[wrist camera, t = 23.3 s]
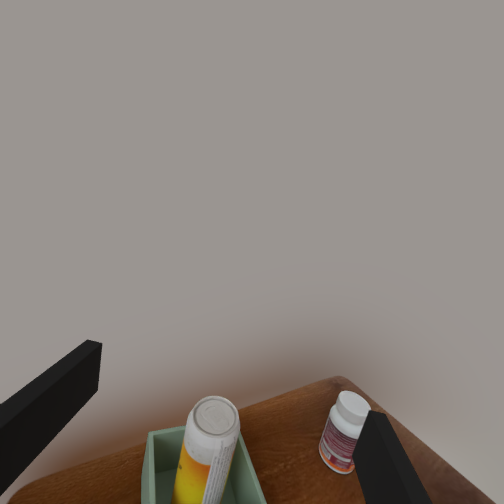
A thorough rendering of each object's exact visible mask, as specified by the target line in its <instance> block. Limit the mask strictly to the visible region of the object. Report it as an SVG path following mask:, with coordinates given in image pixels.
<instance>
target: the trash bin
mask: <svg viewBox="0 0 504 504" xmlns="http://www.w3.org/2000/svg"><path fill="white" fill-rule="evenodd" d="M185 429H186V425H185V426H179V427H174V428H168V429H163V430H157V431H151V432H148V438H147V444H146V450H145V457H144V463H143V469H142V476H141V504H171V499H172V494H173V489H174V484H175V479H176V474H177V469H178V464H179V459H180V454H181V449H182V444H183V439H184V434H185ZM221 504H267V503H266V500H265V498H264V495H263V492H262V490H261V487H260V484H259V481H258V479H257V476H256V473H255V471H254V468H253V465H252V462H251V460H250V457H249V454H248V452H247V449H246V446H245V443H244V441H243V438H242V435H241V432H240V431H239V435H238V439H237V443H236V447H235V451H234V455H233V458H232V462H231V466H230V470H229V474H228V478H227V482H226V486H225V489H224V493H223V497H222V501H221Z"/></svg>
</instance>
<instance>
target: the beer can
mask: <svg viewBox="0 0 504 504" xmlns="http://www.w3.org/2000/svg"><path fill="white" fill-rule="evenodd" d="M239 431H240V421H239V415H238V411H237V409H236V407H235V406H234V404H233V403H232V402H230V401H229V400H228V399H225V398H223V397H220V396H208V397H205V398H203V399H201V400H200V401H198V403H196V405H195V407H194V408H193V409H192V411H191V412H190V413H189V416H188V419H187V424H186V429H185V434H184V439H183V444H182V449H181V454H180V459H179V464H178V469H177V474H176V479H175V484H174V489H173V494H172V499H171V504H221V501H222V497H223V493H224V489H225V486H226V482H227V478H228V474H229V470H230V466H231V462H232V458H233V455H234V451H235V447H236V443H237V439H238V435H239Z"/></svg>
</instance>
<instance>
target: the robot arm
mask: <svg viewBox="0 0 504 504" xmlns="http://www.w3.org/2000/svg"><path fill="white" fill-rule="evenodd" d="M101 352H102V343H99V342H95V341H91V340H86V341H85V342H83V343H82V344H81V345H79V346H78V347H77V348H75V349H74V350H73V351H71V352H70V353H69V354H67V355H66V356H65V357H63V358H62V359H61V360H59V361H58V362H57V363H55V364H54V365H53V366H51V367H50V368H49V369H47V370H46V371H45V372H43V373H42V374H41V375H39V376H38V377H37V378H35V379H34V380H33V381H31V382H30V383H29V384H27V385H26V386H25V387H23V388H22V389H21V390H19V391H18V392H17V393H15V394H14V395H13V396H11V397H10V398H9V399H7V400H6V401H5V402H3V403H2V404H0V496H1V495H2V494H3V493H4V492H5V491H6V490H7V488H8V487H9V486H10V485H11V484H12V483H13V482H14V481H15V480H16V479H17V478H18V476H19V475H20V474H21V473H22V472H23V471H24V470H25V469H26V468H27V467H28V466H29V465H30V463H31V462H32V461H33V460H34V459H35V458H36V457H37V456H38V455H39V454H40V453H41V452H42V450H43V449H44V448H45V447H46V446H47V445H48V444H49V443H50V442H51V441H52V440H53V438H54V437H55V436H56V435H57V434H58V433H59V432H60V431H61V430H62V429H63V428H64V427H65V425H66V424H67V423H68V422H69V421H70V420H71V419H72V418H73V417H74V416H75V415H76V413H77V412H78V411H79V410H80V409H81V408H82V407H83V406H84V405H85V404H86V403H87V402H88V400H89V399H90V398H91V397H92V396H93V395H94V394H95V393H96V392H97V391H98V381H99V372H100V361H101ZM352 459H353V462H354V465H355V469H356V472H357V475H358V478H359V482H360V485H361V488H362V491H363V495H364V498H365V501H366V504H432V502H431V500H430V498H429V496H428V494H427V492H426V490H425V488H424V487H423V485H422V483H421V481H420V479H419V477H418V475H417V473H416V471H415V469H414V468H413V466H412V464H411V462H410V460H409V458H408V456H407V454H406V452H405V450H404V449H403V447H402V445H401V443H400V441H399V439H398V437H397V435H396V433H395V431H394V430H393V428H392V426H391V424H390V422H389V420H388V418H387V416H386V414H383V413H379V412H375V411H371V410H369V411H368V414H367V417H366V419H365V422H364V425H363V427H362V430H361V432H360V435H359V438H358V440H357V443H356V445H355V448H354V451H353V453H352Z"/></svg>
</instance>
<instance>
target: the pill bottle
mask: <svg viewBox="0 0 504 504" xmlns="http://www.w3.org/2000/svg"><path fill="white" fill-rule="evenodd" d="M369 410H371V408H370V406H369V404H368V403H367V402H366V400H365V399H363V398H362V397H361V396H359V395H358V394H356V393H354V392H351V391H342V392H341V393H340V394H339V396H338V399H337V401H336V404H335V405H333V406H332V408H331V410H330V413H329V416H328V419H327V422H326V425H325V428H324V431H323V434H322V437H321V440H320V443H319V452H320V455H321V457H322V459H323V461H324V462H325V463H326V464H327V465H328V466H329V467H330V468H331V469H332V470H334V471H335V472H338V473H341V474H348V473H350V472H352V471H353V469H354V467H355V465H354V462H353V459H352V453H353V451H354V448H355V445H356V443H357V440H358V438H359V435H360V432H361V430H362V427H363V425H364V422H365V419H366V417H367V414H368V411H369Z"/></svg>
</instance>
